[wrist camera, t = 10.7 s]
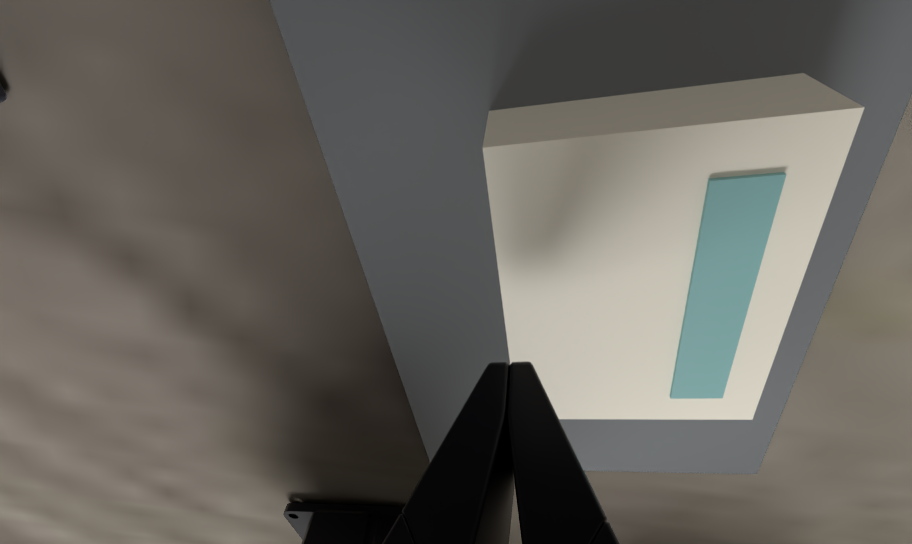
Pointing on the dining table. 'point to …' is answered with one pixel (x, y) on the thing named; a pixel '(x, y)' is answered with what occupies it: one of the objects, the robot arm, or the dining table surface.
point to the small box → (2, 94)
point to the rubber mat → (543, 82)
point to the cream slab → (661, 239)
